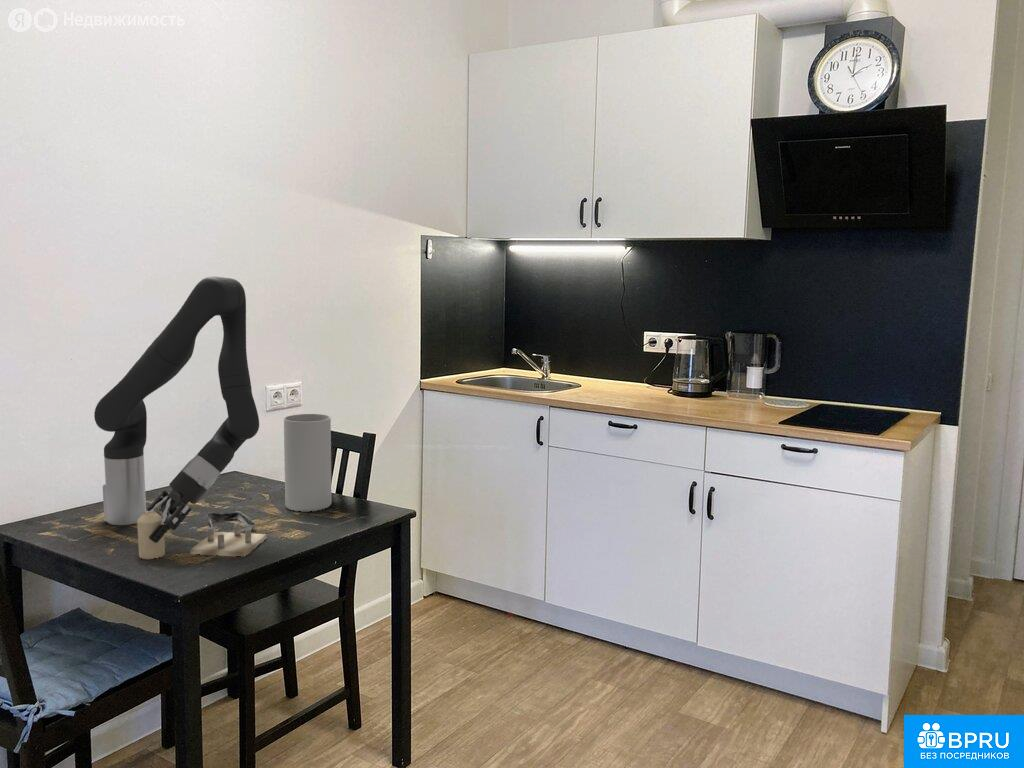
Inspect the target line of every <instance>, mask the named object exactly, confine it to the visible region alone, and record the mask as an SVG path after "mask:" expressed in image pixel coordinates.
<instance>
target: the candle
mask: <svg viewBox="0 0 1024 768" xmlns="http://www.w3.org/2000/svg"><path fill="white" fill-rule="evenodd" d="M162 519H163V516H161V515H159V514H158V513H157V512H149V511H147V512H146V514H144V513H143V514H142V516H141V517H140V518H139V519H138V520H137V523H136V525H137V527H138V528H137V544H138V557H139V558H140V559H141V558H142V560H155V559H154V558H156V559H159V557H160V558H162V557H163V556H165V555H166V549H165V548H166V545H165V540H166V539H165V535H164V536H163V537H162V538H161V539H160V540H159V541H158V542H157V543H155V542H153V541H152V540H150V539H149V536H150V535H151V534H152V532H153V531H154V530H155V529H156V528H157V527H158V525H159V524H160V525H161V522H162Z"/></svg>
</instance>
